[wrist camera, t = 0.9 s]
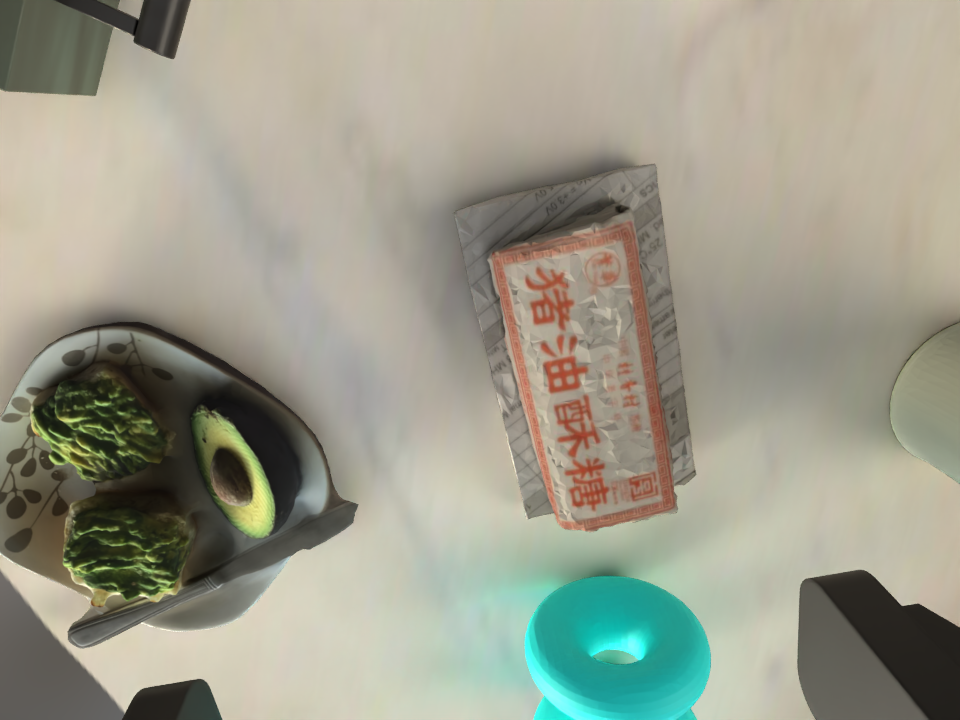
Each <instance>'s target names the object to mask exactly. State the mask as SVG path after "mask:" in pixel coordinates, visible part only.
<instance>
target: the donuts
mask: <svg viewBox="0 0 960 720" xmlns="http://www.w3.org/2000/svg"><path fill="white" fill-rule="evenodd" d="M610 649H616V650H622V651H625V652H628V653H630V654H632V655H633V656H635V657H636V658H637V659H638V660H639V661H637V662H634V663H630V664H610V663H606V662H603V661H599V660H597V659H595V658H593V656H594V655H595V654H597V653H598V652H601V651H604V650H610ZM525 655H526V660H527V664H528V667H529V670H530V673H531V675H532V678H533V680H534V681H535V683H536V685H537V686H538V688H539V689H540V690H541V692H542V693H543V694H544V697H543V699H542V701H541V702H540V704H539V706H538V708H537V710H536V713H535V716H534V720H697V719H696V717H695V715H694V713H693V712H692V710H691V707H692V706H693V705H694V704H695V702H696V701H697V700H698V699H699V697H700V696H701V694H702V693H703V691H704V689H705V686H706V684H707V681H708V678H709V674H710V667H711V653H710V647H709V643H708V640H707V636H706V634H705V631H704V629H703V627H702V626H701V624H700V622H699V621H698V619H697V618H696V616H695V615H694V614H693V613H692V611H691V610H690V609H689V608H688V607H687V606H686V605H685V604H684V603H683V602H682V601H680V600H679V599H678V598H676V597H675V596H674V595H672V594H670V593H669V592H667V591H666V590H664V589H662V588H660V587H658V586H655V585H653V584H651V583H648V582H645V581H642V580H638V579H634V578H629V577H622V576H596V577H589V578H584V579H580V580H577V581H574V582H572V583H569V584H567V585H564V586H563V587H561V588H559V589H557V590H556V591H554V592H553V593H551V594H550V595H549V596H548V597H546V598H545V599H544V600H543V601H542V602H541V604H540V605H539V606H538V608H537V609H536V610H535V612H534V614H533V615H532V617H531V619H530V621H529V624H528V628H527V632H526V637H525Z"/></svg>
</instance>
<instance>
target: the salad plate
mask: <svg viewBox="0 0 960 720" xmlns="http://www.w3.org/2000/svg"><path fill="white" fill-rule="evenodd" d="M358 505H359V504H356V503H353V502H350V501H346V500H343V499H342V498H341V497H339V495H338V493H337V492H336V490H335V488H334V485H333V483H332V479H331V474H330V470H329V466H328V464H327V459H326V456H325V454H324V451H323V448H322V446H321V444H320V443H319V441H318V439H317V438H316V435H315V434H314V433H313V432H312V431H311V430H310V429H309V427H308V426H307V425H306V424H305V423H304V422H303V421H302V420H301V419H300V418H299V417H298V416H297V415H296V414H295V413H294V412H293V411H292V410H291V409H289V408H288V407H287V406H286V405H285V404H284V403H282V402H281V401H280V400H278V399H277V398H276V397H274V396H273V395H272V394H270V393H269V392H268V391H267V390H266V389H265V388H264V387H262V386H261V385H259V384H258V383H256V382H254V381H252V380H251V379H249V378H248V377H246V376H245V375H243V374H242V373H240V372H239V371H237V370H236V369H234V368H233V367H232V366H230V365H229V364H228V363H226V362H225V361H223V360H221V359H220V358H217V357H215V356H213V355H212V354H210V353H208V352H206V351H204V350H202V349H201V348H199V347H197V346H195V345H193V344H192V343H190V342H188V341H186V340H184V339H181V338H179V337H176V336H174V335H172V334H170V333H167V332H165V331H163V330H161V329H158V328H156V327H153V326H151V325H148V324H144V323H140V322H117V323H110V324H103V325H97V326H92V327H87V328H84V329H81V330H78V331H76V332H74V333H71V334H68V335H65V336H63V337H61V338H59V339H57V340H56V341H54V342H52V343H51V344H49V345H48V346H47V347H46V348H45V349H44V350H42V351H41V352H40V353H39V354H38V355H37V356H36V357H35V358H34V360H33V361H32V362H31V364H30V365H29V367H28V368H27V370H26V371H25V373H24V375H23V377H22V378H21V380H20V382H19V383H18V385H17V387H16V389H15V391H14V393H13V395H12V397H11V399H10V401H9V403H8V405H7V407H6V409H5V411H4V412H3V414H2V416H1V417H0V554H1V555H2V556H4V557H5V558H7V559H8V560H10V561H11V562H13V563H14V564H16V565H18V566H20V567H22V568H24V569H26V570H29V571H31V572H33V573H35V574H37V575H40V576H42V577H45V578H47V579H49V580H51V581H53V582H56V583H58V584H61V585H63V586H65V587H67V588H69V589H71V590H73V591H75V592H77V593H79V594H81V595H83V596H85V597H86V599H87V600H88V601H89V603H90V608H89V610H88V611H87V612H86V614H85V615H84V616H83V617H82V618H81V619H79V620H78V621H76V622H74V623H73V624H72V626H71V627H70V629H69V630H68V640H69V642H70V643H71V644H73V645H74V646H76V647H78V648H82V649H83V648H87V647H92V646H95V645H97V644H99V643H102V642H104V641H106V640H108V639H110V638H112V637H114V636H116V635H118V634H120V633H122V632H124V631H126V630H128V629H130V628H132V627H133V626H136V625H138V624H145V625H147V626H151V627H155V628H159V629H163V630H169V631H176V632H187V631H199V630H205V629H211V628H216V627H221V626H224V625H227V624H229V623H232V622H234V621H235V620H237V619H239V618H240V617H241V616H243V615H244V613H245V612H247V611H248V610H249V609H250V608H251V607H252V606H253V605H254V604H255V603H256V602H257V601H258V600H259V599H260V597H261V596H262V595H263V594H264V592H265V591H266V589H267V588H268V587H269V585H270V584H271V583H272V581H273V580H274V579H275V578H276V576H277V575H278V574H279V573H280V572H281V570H282V569H283V567H284V566H285V564H286V563H287V561H288V560H289V558H290V557H291V556H292V555H293V554H294V553H296V552H297V551H299V550H301V549H311V548H313V547H315V546H317V545H319V544H321V543H323V542H325V541H327V540H328V539H330V538H332V537H333V536H335V535H337V534H338V533H340V532H341V531H343V530H344V529H346V528H347V527H348V526H350V525H351V524H352V523H353V521H354V516H355V512H356V510H357V507H358Z"/></svg>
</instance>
